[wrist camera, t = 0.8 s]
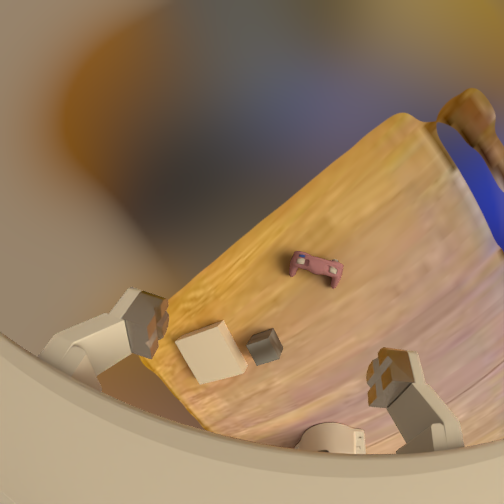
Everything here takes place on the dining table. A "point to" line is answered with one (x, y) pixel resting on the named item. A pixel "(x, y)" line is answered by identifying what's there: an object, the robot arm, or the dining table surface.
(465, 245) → the dining table surface
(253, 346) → the slate cube
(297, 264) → the video game controller
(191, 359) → the cream block
